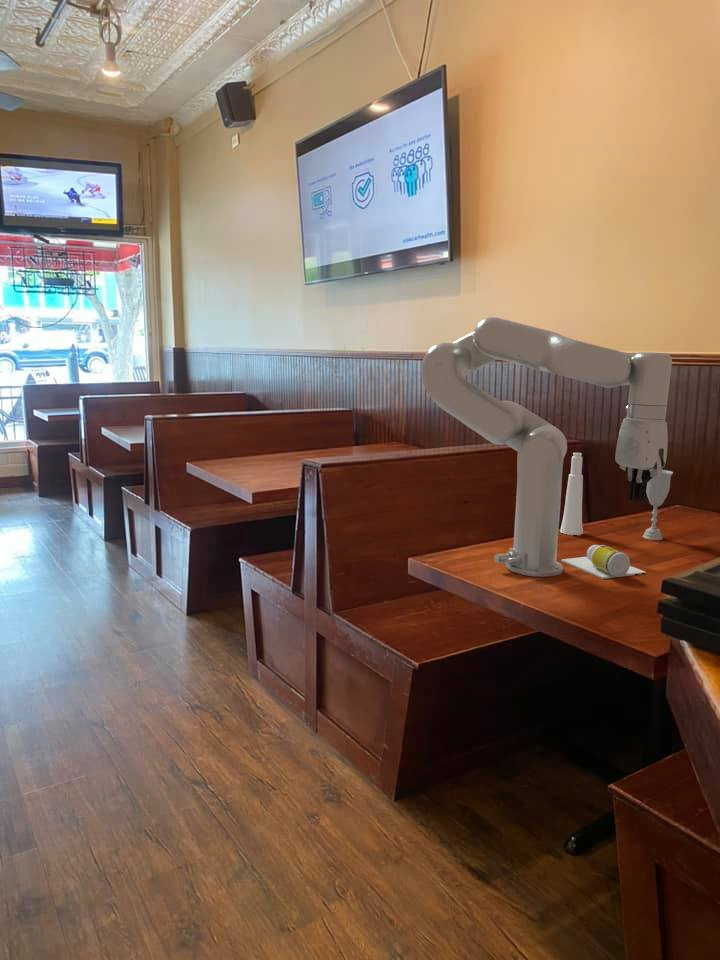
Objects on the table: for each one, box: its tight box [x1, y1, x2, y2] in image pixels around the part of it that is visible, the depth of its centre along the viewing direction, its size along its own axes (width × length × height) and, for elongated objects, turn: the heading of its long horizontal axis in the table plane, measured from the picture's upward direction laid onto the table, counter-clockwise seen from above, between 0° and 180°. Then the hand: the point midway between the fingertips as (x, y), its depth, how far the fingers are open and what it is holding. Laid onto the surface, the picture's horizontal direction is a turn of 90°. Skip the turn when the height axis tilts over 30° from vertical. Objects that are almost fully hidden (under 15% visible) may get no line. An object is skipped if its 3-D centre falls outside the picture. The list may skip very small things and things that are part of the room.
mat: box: [560, 556, 646, 580], centre depth 160 cm, size 12×14×1 cm
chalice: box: [642, 469, 674, 541], centre depth 186 cm, size 7×7×18 cm
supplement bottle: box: [586, 544, 631, 578], centre depth 155 cm, size 5×5×10 cm
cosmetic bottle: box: [559, 452, 584, 536], centre depth 188 cm, size 6×6×22 cm
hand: (636, 500), depth 147 cm, fingers closed
